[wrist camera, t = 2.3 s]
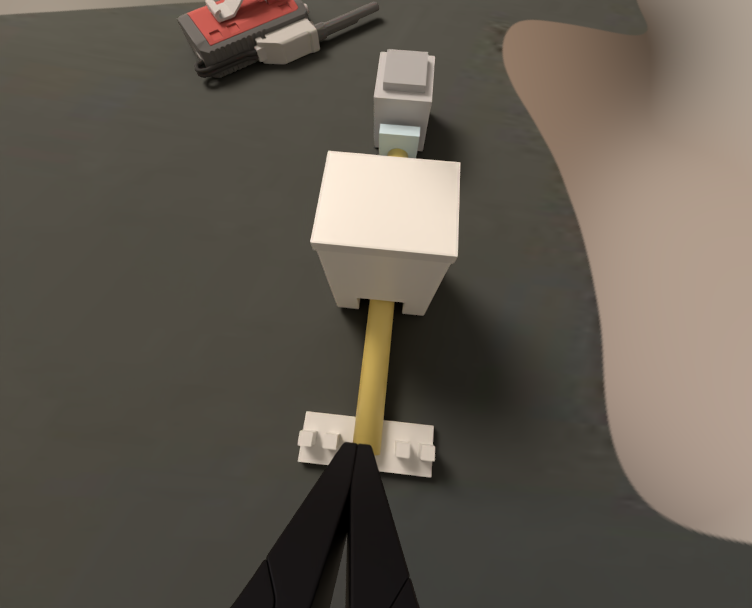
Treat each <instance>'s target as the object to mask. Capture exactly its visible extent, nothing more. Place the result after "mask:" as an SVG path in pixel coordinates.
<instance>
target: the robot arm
mask: <svg viewBox="0 0 752 608" xmlns="http://www.w3.org/2000/svg"><path fill="white" fill-rule="evenodd" d="M346 537H347V565H346V605H345V608H420V607H419V604H418V601H417V598H416V595H415V591H414V588H413V584H412V581H411V579H410V578H409V576H410V575H409V571H408V568H407V565H406V561H405V558H404V554H403V551H402V548H401V544H400V541H399V537H398V534H397V530H396V527H395V524H394V520H393V517H392V513H391V510H390V507H389V503H388V500H387V496H386V493H385V490H384V486H383V483H382V479H381V476H380V473H379V469H378V466H377V462H376V459H375V456H374V452H373V449H372V446H371V445H369V444H361V443H359V444H357V443H353V442H344V443H343V444H342V445H341V447H340V448H339V450H338V451H337V453H336V454H335V456H334V457H333V459H332V460H331V462H330V463H329V465H328V466H327V468H326V469H325V470H324V472H323V473H322V475H321V476H320V478H319V479H318V481H317V482H316V484H315V485H314V487H313V488H312V490H311V491H310V493H309V494H308V496H307V497H306V499H305V500H304V502H303V503H302V505H301V506H300V508H299V509H298V510H297V512H296V513H295V515H294V516H293V518H292V519H291V521H290V522H289V524H288V525H287V527H286V528H285V530H284V531H283V533H282V534H281V536H280V537H279V539H278V540H277V542H276V543H275V545H274V546H273V548H272V549H271V550H270V552H269V553H268V555H267V557H266V559H267V560H264V561H263V562H262V564H261V565H260V566H259V568H258V569H257V571H256V572H255V574H254V575H253V577H252V578H251V580H250V581H249V582H248V584H247V585H246V587H245V588H244V589H243V591H242V592H241V594H240V595H239V597H238V598H237V599H236V601H235V602H234V603H233V605H232V606H231V607H230V608H330V604H331V600H332V596H333V592H334V587H335V583H336V579H337V575H338V571H339V566H340V562H341V558H342V554H343V549H344V545H345V541H346Z"/></svg>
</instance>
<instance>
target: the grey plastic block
mask: <svg viewBox="0 0 752 608" xmlns="http://www.w3.org/2000/svg"><path fill="white" fill-rule="evenodd" d="M434 62H435V56H428V52H418V51H405V50H392V49H388V50H387V52H381V53H380V60H379V66H378V73H377V80H376V87H375V93H374V147H379V155H381V156H387V154H388V152H389V151H390V150H392V149H395V148H399V149H403V150H404V151H406V152H407V154H408V158H415V159H416V155H417V151H423V147H424V141H425V136H426V130H427V125H428V120H429V114H430V109H431V103H432V91H433V76H434Z"/></svg>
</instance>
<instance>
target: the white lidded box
mask: <svg viewBox="0 0 752 608" xmlns="http://www.w3.org/2000/svg"><path fill="white" fill-rule="evenodd" d="M459 189H460V162H450V161H438V160H427V159H415V158H404V157H392V156H381V155H369V154H358V153H346V152H335V151H328V155H327V160H326V165H325V170H324V175H323V180H322V185H321V190H320V195H319V200H318V206H317V211H316V216H315V221H314V226H313V231H312V236H311V241H310V243H311V245H312V248H313V250H317V253H318V256H319V258H320V261H321V264H322V266H323V269H324V272H325V275H326V277H327V280H328V283H329V285H330V288H331V291H332V293H333V296H334V299H335V301H336V304H337V307H344V308H353V309H359V305H360V298H364V299H374V300H384V301H393V302H403V307H402V314H411V315H421V316H424V314H425V312H426V310H427V308H428V306H429V304H430V302H431V301H432V299H433V297H434V295H435V293H436V291H437V289H438V287H439V285H440V283H441V281H442V279H443V277H444V275H445V273H446V272H447V270H448V268H449V266H450V264H451V263H453V264H454V262H455V261H456V259H457V257H458V225H459Z"/></svg>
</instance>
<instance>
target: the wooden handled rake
mask: <svg viewBox="0 0 752 608" xmlns="http://www.w3.org/2000/svg"><path fill="white" fill-rule="evenodd" d="M387 156H392V157H404V158H408V154H407V152H406V151H404V150H403V149H399V148H395V149H392V150H390V151H389V152H388V154H387ZM393 313H394V302H393V301H384V300H374V299H370V303H369V311H368V319H367V327H366V336H365V344H364V352H363V361H362V369H361V377H360V386H359V394H358V402H357V410H356V417H353V416H344V415H335V414H327V413H318V412H309V411H306V417H305V423H304V429H303V430H301V431H300V434H299V440H298V445H300V452H299V458H298V462H306V463H315V464H323V465H329V463H330V462H331V460H332V459H333V457H334V456H335V454H336V453H337V451H338V450H339V448H340V447H341V445H342V444H343V443H344V442H353V443H357V444H359V443H361V444H369V445H371V446H372V449H373V452H374V456H375V459H376V462H377V466H378V469H379V471H381V472H390V473H398V474H406V475H415V476H423V477H431V473H432V461H435V446H433V430H434V426H431V425H423V424H414V423H405V422H397V421H388V420H383V419H384V409H385V398H386V387H387V377H388V366H389V356H390V345H391V334H392V324H393Z"/></svg>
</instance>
